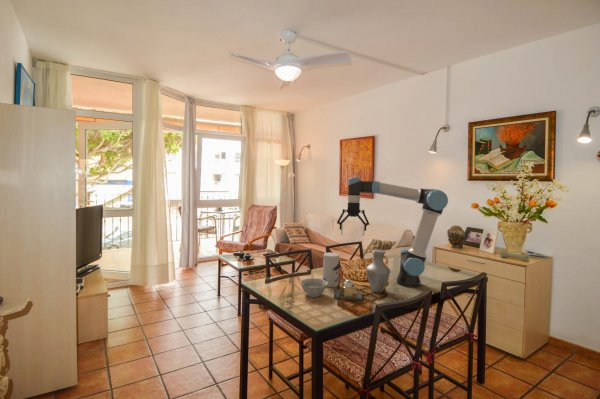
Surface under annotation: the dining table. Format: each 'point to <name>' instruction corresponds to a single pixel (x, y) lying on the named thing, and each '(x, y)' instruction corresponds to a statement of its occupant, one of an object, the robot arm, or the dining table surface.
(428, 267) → the dining table surface
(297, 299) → the dining table surface
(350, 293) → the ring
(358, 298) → the piston block
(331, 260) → the container
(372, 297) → the dining table surface
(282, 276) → the dining table surface
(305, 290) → the bowl
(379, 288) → the vase
